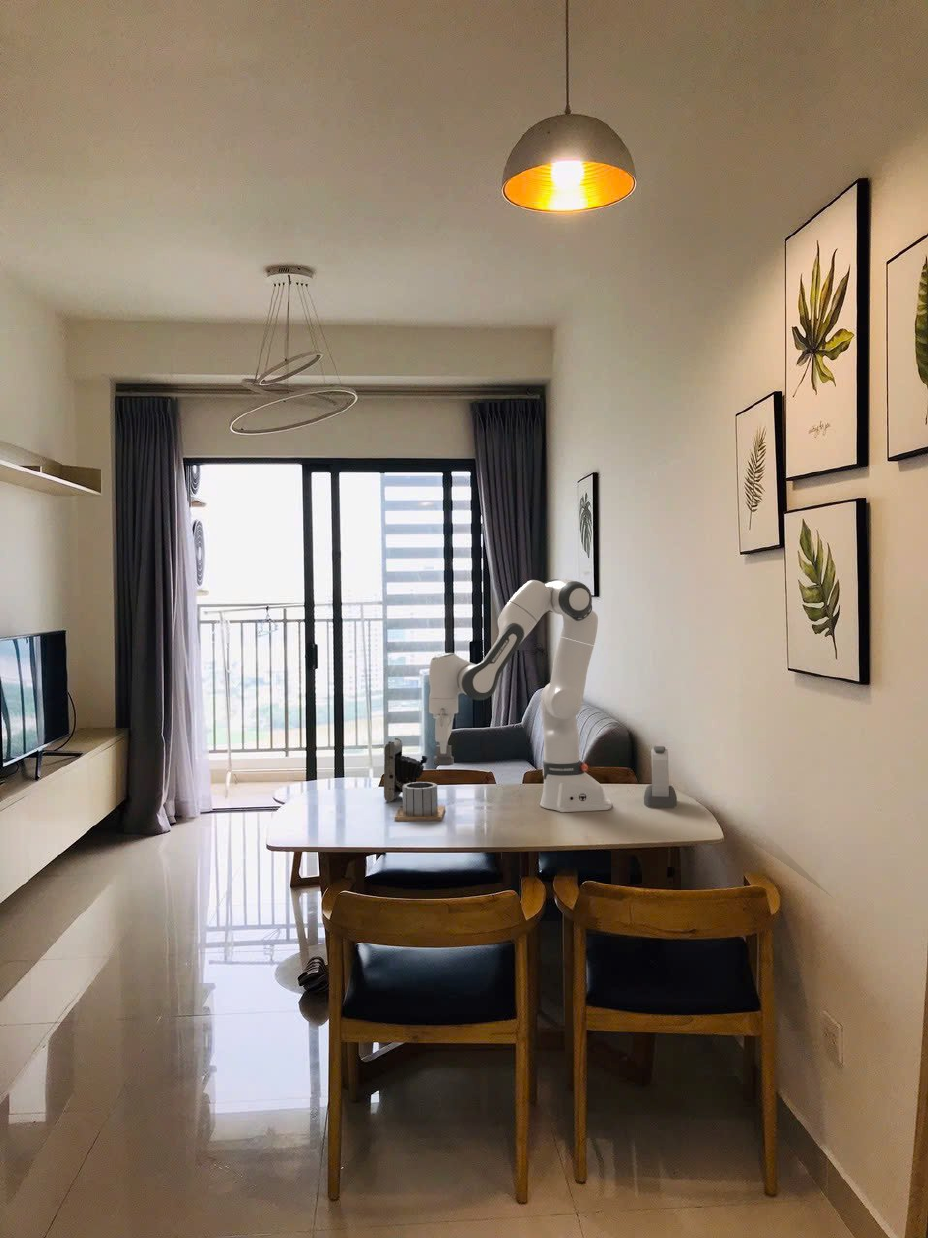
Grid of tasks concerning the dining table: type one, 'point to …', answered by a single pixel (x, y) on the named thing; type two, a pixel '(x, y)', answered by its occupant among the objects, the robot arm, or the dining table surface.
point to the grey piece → (660, 782)
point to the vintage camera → (399, 769)
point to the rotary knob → (443, 757)
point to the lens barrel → (420, 803)
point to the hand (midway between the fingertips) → (443, 752)
